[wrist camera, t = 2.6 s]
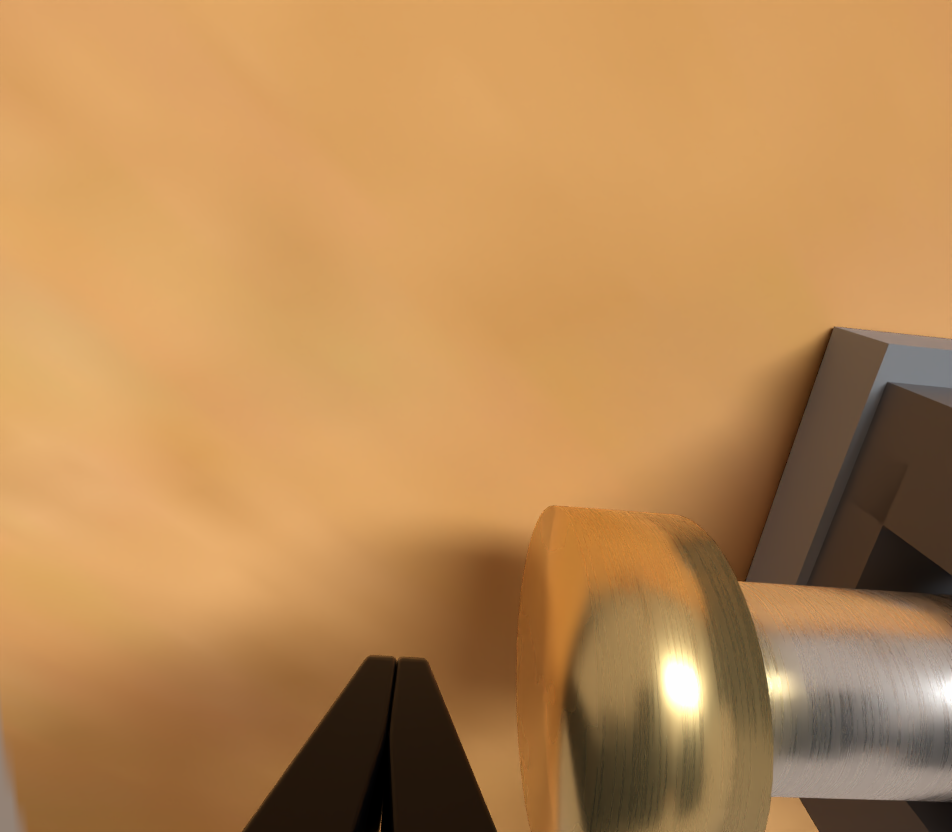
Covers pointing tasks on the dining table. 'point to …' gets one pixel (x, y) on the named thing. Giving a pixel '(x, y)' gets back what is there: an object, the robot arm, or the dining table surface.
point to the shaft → (714, 683)
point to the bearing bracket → (869, 505)
